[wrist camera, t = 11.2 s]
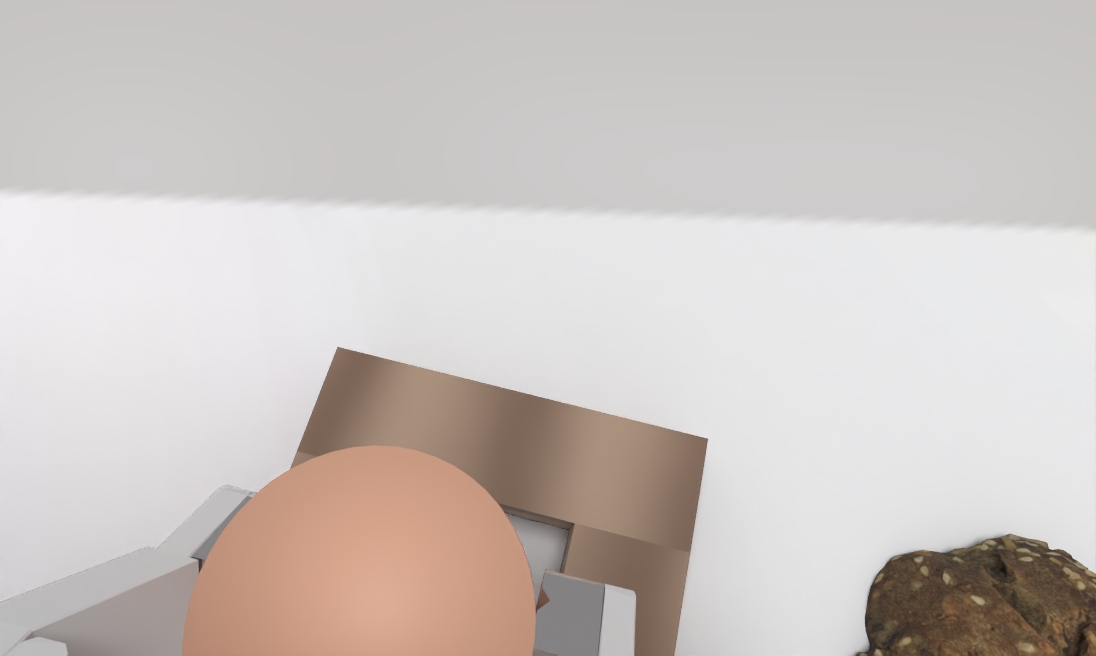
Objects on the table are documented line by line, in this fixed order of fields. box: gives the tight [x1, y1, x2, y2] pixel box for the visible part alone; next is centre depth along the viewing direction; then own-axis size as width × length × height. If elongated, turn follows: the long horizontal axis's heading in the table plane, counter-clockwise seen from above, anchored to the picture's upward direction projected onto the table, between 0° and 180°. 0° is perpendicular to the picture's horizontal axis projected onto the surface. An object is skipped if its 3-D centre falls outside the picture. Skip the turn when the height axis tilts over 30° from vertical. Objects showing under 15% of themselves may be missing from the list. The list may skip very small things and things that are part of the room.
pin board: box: [290, 347, 708, 656], centre depth 23 cm, size 14×14×3 cm
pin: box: [182, 445, 536, 656], centre depth 11 cm, size 4×4×8 cm
